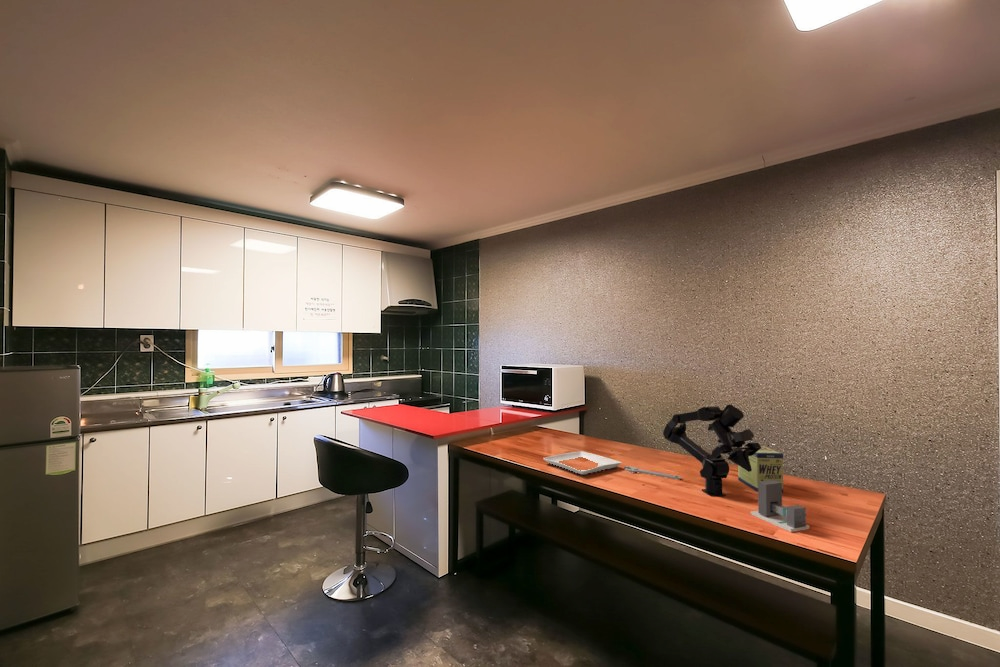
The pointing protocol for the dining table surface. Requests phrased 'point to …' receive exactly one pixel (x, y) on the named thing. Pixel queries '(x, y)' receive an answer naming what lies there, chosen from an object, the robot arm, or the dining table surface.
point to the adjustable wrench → (650, 472)
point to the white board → (778, 521)
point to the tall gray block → (769, 496)
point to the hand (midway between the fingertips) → (750, 471)
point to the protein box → (762, 468)
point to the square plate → (602, 461)
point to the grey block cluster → (791, 514)
